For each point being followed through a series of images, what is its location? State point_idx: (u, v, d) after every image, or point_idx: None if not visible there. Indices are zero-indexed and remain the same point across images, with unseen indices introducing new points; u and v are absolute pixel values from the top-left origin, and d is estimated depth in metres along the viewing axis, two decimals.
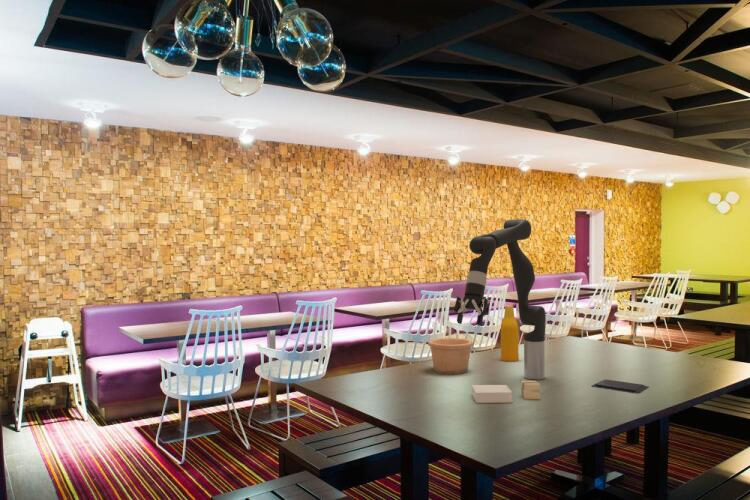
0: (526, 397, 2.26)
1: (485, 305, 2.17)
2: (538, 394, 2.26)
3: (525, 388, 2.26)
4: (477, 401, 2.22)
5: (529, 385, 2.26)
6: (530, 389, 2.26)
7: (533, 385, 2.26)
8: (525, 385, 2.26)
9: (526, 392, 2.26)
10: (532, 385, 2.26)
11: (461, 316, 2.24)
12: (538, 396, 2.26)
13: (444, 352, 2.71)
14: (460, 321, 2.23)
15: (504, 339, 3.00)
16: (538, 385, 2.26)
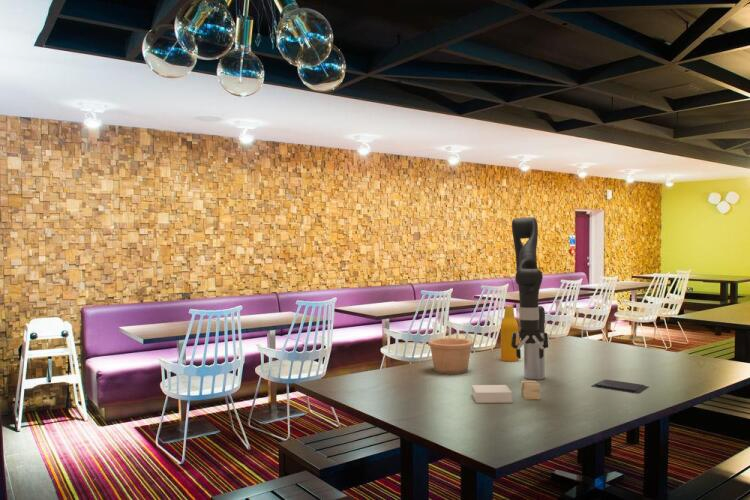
0: (526, 397, 2.26)
1: (546, 339, 2.28)
2: (538, 394, 2.26)
3: (525, 388, 2.26)
4: (477, 401, 2.22)
5: (529, 385, 2.26)
6: (530, 389, 2.26)
7: (533, 385, 2.26)
8: (525, 385, 2.26)
9: (526, 392, 2.26)
10: (532, 385, 2.26)
11: None
12: (538, 396, 2.26)
13: (444, 352, 2.71)
14: None
15: (504, 339, 3.00)
16: (538, 385, 2.26)
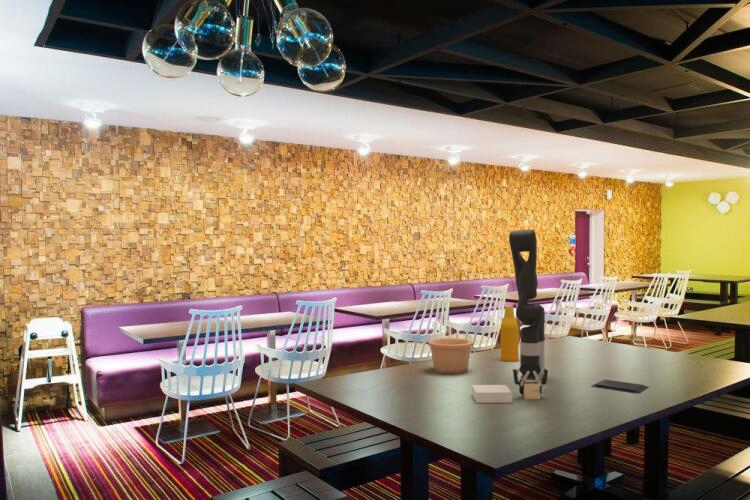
0: (526, 397, 2.26)
1: (546, 376, 2.28)
2: (538, 394, 2.26)
3: (525, 388, 2.26)
4: (477, 401, 2.22)
5: (529, 385, 2.26)
6: (530, 389, 2.26)
7: (533, 385, 2.26)
8: (525, 385, 2.26)
9: (526, 392, 2.26)
10: (532, 385, 2.26)
11: None
12: (538, 396, 2.26)
13: (444, 352, 2.71)
14: None
15: (504, 339, 3.00)
16: (538, 385, 2.26)
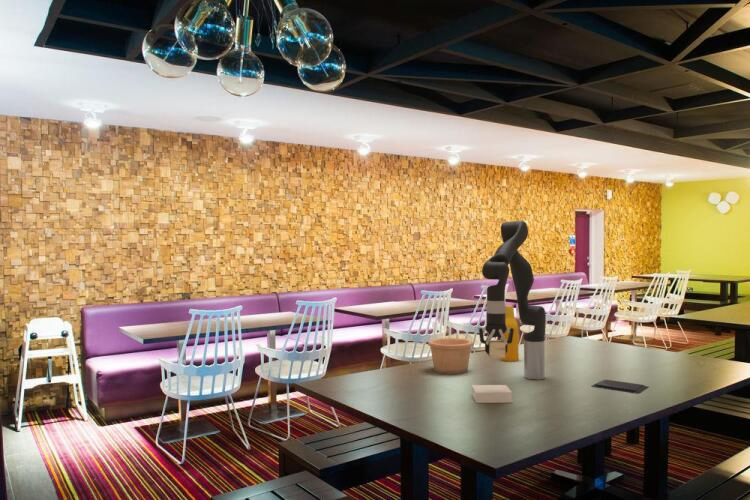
0: (491, 355, 2.24)
1: (511, 335, 2.26)
2: (504, 352, 2.24)
3: (491, 346, 2.24)
4: (477, 401, 2.22)
5: (495, 343, 2.24)
6: (496, 347, 2.24)
7: (499, 343, 2.24)
8: (491, 343, 2.24)
9: (492, 350, 2.24)
10: (498, 343, 2.24)
11: None
12: (504, 354, 2.24)
13: (444, 352, 2.71)
14: None
15: None
16: (504, 343, 2.24)
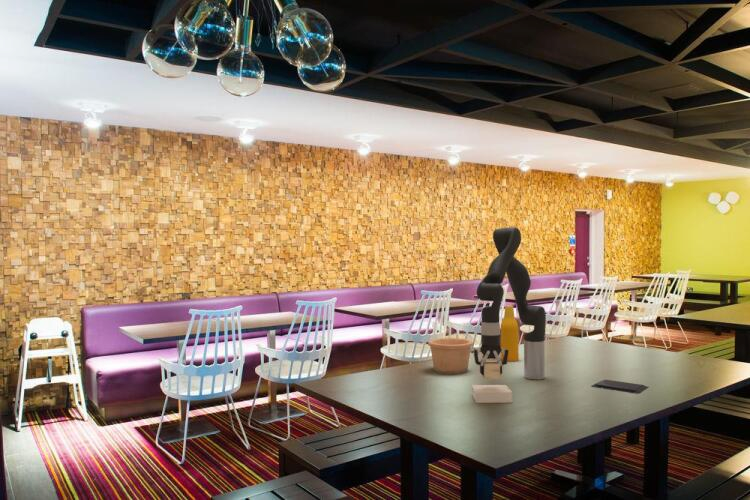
0: (486, 377, 2.25)
1: (506, 356, 2.26)
2: (498, 374, 2.24)
3: (485, 368, 2.25)
4: (477, 401, 2.22)
5: (489, 365, 2.24)
6: (490, 369, 2.24)
7: (493, 365, 2.24)
8: (485, 365, 2.25)
9: (486, 372, 2.25)
10: (492, 365, 2.24)
11: (483, 367, 2.28)
12: (498, 376, 2.24)
13: (444, 352, 2.71)
14: (483, 373, 2.28)
15: (504, 339, 3.00)
16: (498, 365, 2.24)
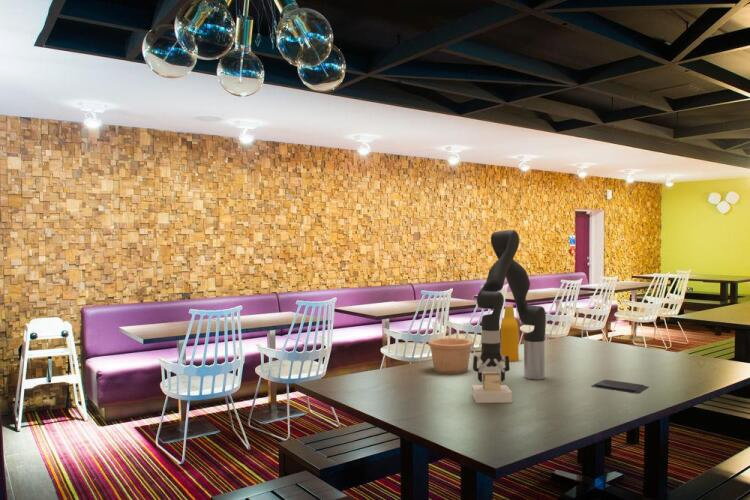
0: (486, 388, 2.25)
1: (508, 362, 2.26)
2: (498, 385, 2.24)
3: (485, 379, 2.25)
4: (477, 401, 2.22)
5: (489, 376, 2.25)
6: (490, 380, 2.25)
7: (493, 376, 2.25)
8: (485, 376, 2.25)
9: (487, 383, 2.25)
10: (492, 376, 2.25)
11: (481, 374, 2.28)
12: (498, 387, 2.24)
13: (444, 352, 2.71)
14: (481, 379, 2.28)
15: (504, 339, 3.00)
16: (499, 376, 2.24)
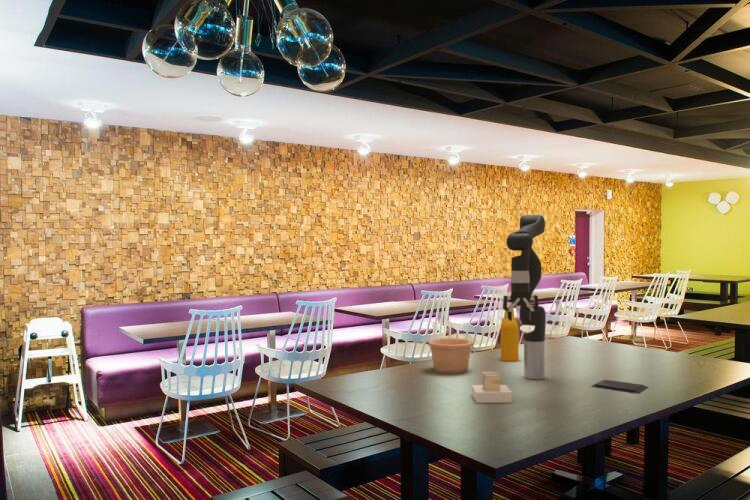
0: (486, 388, 2.25)
1: (537, 302, 2.34)
2: (498, 385, 2.24)
3: (485, 379, 2.25)
4: (477, 401, 2.22)
5: (489, 376, 2.25)
6: (490, 380, 2.25)
7: (493, 376, 2.25)
8: (485, 376, 2.25)
9: (487, 383, 2.25)
10: (492, 376, 2.25)
11: None
12: (498, 387, 2.24)
13: (444, 352, 2.71)
14: None
15: (504, 339, 3.00)
16: (499, 376, 2.24)
